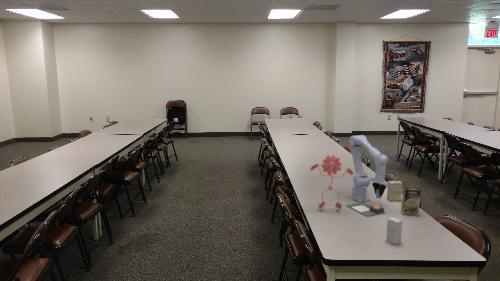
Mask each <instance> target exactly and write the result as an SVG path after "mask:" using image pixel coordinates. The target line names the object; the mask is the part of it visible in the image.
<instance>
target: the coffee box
mask: <svg viewBox="0 0 500 281" xmlns="http://www.w3.org/2000/svg"><path fill="white" fill-rule="evenodd" d="M421 193H422V190H421V188H419V187H412V186H402V197H401V206H400V212H401V213H402V215H406V216H415V217H419V214H420V213H419V212H420V203H421V195H422V194H421Z"/></svg>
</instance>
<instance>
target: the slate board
mask: <svg viewBox="0 0 500 281" xmlns="http://www.w3.org/2000/svg"><path fill="white" fill-rule="evenodd" d="M345 206H346V207H347V208H349V209H350V210H353V211H354V212H357V213H358V214H360V215H363V216H364V217H366V218H368V217H374V216H379V215H385V214H386V212H385V208H383V207H382V206H380V207H381V209H378V210H376V209H374V208H373V206H374V205H373V206H372V205H370V204H368V203H366V202H365V201H362V202H357V203H349V204H345Z"/></svg>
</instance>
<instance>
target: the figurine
mask: <svg viewBox="0 0 500 281" xmlns="http://www.w3.org/2000/svg"><path fill="white" fill-rule="evenodd" d="M340 160H341V158H340V157H339V156H337V157H336V155H334V154H333V155H331V156H330V155H328V154H327V156H325V158H323V159H322V163H321V165H319V163H315V164H313V165H312V166H311V167H310V170H309V171H310V172H311V171H314V170H315V169H317V168H318V170H319V173H320V175H321V177H327V176H328V177H329V176H330V177H331V181H330V185H329V186H328V187H327V188H326V189H325V190H324V191H322V192H321V199H322V200H321V201H322V202H321V203H319V204H318V205H315V207H316V206H318V208H319V210H320V209H322V212H323V213H324V210H325V207H324V206H325V205H326V206H327V205H328V206H329V205H330V204H328V203H326V202H325V201H324V196H323V195H324V193H325V191H327V190H330V191H332V190H334V191H336V192H337V193H338V195H340V194H341V193H340V192H339V191H338V190H336V189H334V188H333V186H332V183H333V180H334V178H338V179H342V178H343V176H344V175H345V174H346V173H348V174H349V175H351V176H354V171H353V170H352V169H351V168H349V167H347V168H346V170H345V171H344V172H343V173H342V174H341V176H340V177H339V176H337V171H338V172H339V171H342V168H341V166H342V162H341V161H340ZM320 166H321V168H322V171H323V172H324V173H325V172H326V173H327V174H323V173H322V171H321V168H320ZM339 200H340V196H338V198H337V202H336V203H335V204H334V206H335V207H336V209H337V213H338V214H339V210H341V208H342V206H343V205H342V204H341V203H340V202H339Z"/></svg>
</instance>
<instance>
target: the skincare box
mask: <svg viewBox="0 0 500 281" xmlns="http://www.w3.org/2000/svg"><path fill="white" fill-rule="evenodd" d="M386 223H387V224H386V236H385V237H386V238H385V240H386V241H387V242H389V243H392V244H394V245H398V244H400V243H401V242H402V234H403V220H401V219H398V218H396V217H393V216H392V217H389V218H387V222H386Z"/></svg>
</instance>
